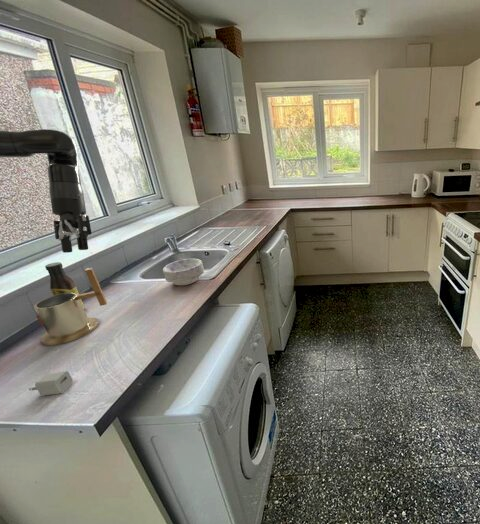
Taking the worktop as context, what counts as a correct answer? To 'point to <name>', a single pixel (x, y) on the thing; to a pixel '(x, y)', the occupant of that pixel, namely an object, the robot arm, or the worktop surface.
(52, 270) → the sauce bottle
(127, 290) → the worktop surface
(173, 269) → the white purple floral bowl
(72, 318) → the flanged cylinder with handle
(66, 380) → the usb wall charger
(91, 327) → the turntable
